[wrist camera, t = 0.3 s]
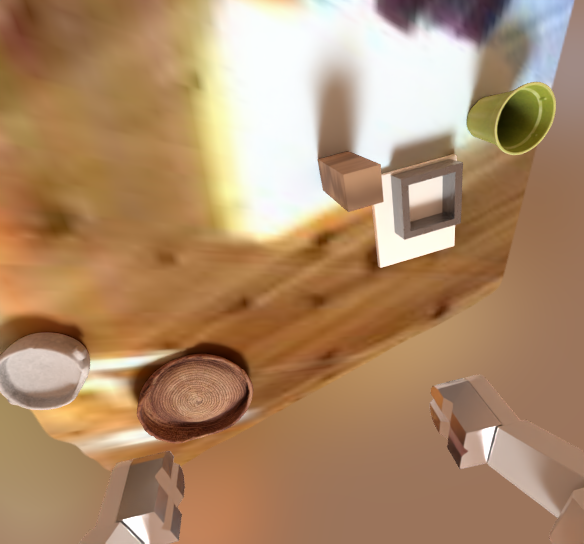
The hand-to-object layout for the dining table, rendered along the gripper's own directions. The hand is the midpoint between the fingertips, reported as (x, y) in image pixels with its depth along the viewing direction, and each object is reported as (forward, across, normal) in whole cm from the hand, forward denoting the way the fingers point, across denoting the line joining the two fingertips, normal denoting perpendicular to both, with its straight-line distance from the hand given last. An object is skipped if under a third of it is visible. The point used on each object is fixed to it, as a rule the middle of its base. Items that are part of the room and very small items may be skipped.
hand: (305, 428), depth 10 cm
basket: (+43, +21, +44) cm, 65 cm away
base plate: (+47, -26, +18) cm, 57 cm away
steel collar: (+47, -27, +15) cm, 56 cm away
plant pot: (+49, -38, +4) cm, 62 cm away
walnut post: (+47, -13, +7) cm, 49 cm away
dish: (+43, +42, +28) cm, 67 cm away
